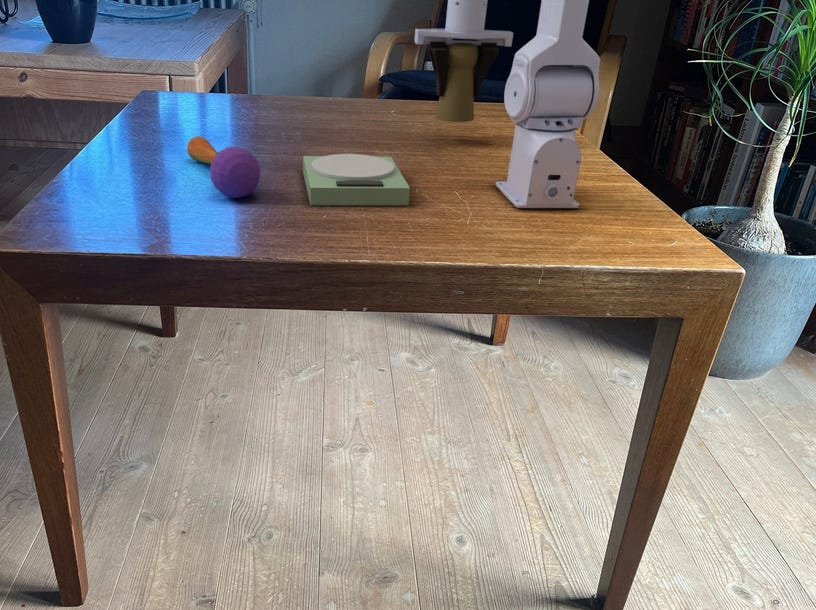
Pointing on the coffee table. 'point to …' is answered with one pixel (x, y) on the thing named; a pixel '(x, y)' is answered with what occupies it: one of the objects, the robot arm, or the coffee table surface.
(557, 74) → the robot arm
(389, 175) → the scale
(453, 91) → the cork
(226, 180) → the maraca
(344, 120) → the coffee table surface
